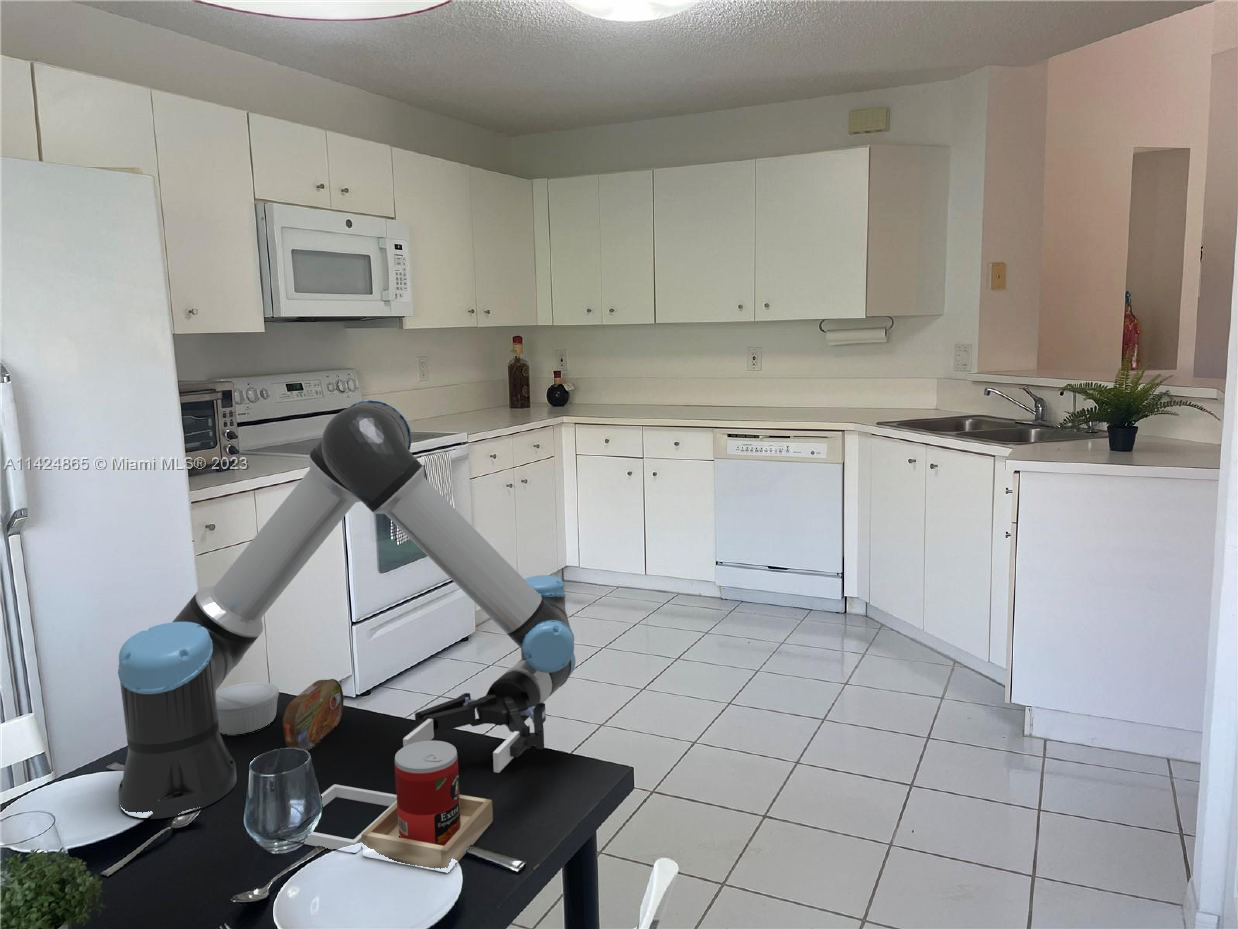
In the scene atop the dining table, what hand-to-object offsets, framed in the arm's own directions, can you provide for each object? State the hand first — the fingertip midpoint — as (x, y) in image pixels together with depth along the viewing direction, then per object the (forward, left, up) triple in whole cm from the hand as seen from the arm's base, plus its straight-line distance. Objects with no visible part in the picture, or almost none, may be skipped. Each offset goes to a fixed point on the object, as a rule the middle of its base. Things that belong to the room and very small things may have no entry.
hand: (449, 755), depth 116 cm
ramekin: (-48, +16, -9) cm, 52 cm away
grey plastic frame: (-13, -5, -9) cm, 17 cm away
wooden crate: (0, -5, -9) cm, 10 cm away
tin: (-33, +15, -9) cm, 38 cm away
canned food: (0, -5, -8) cm, 10 cm away
